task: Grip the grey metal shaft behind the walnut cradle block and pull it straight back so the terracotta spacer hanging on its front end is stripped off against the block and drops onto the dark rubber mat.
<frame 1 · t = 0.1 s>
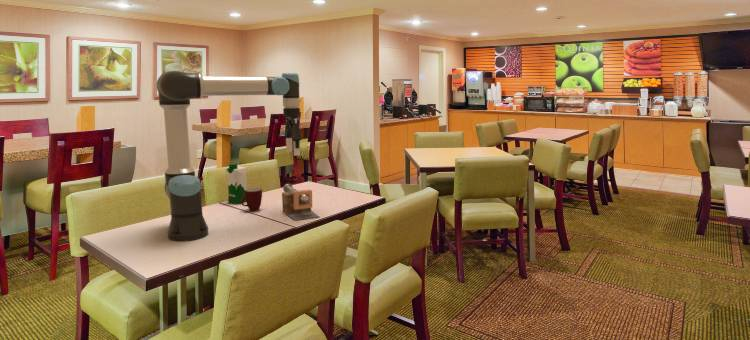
hand: (293, 153, 219), 28 cm above the table, tool pointing down, fingers open, 13 cm apart
shaft: (296, 193, 222), point 9 cm above the table, slide at 0.0 cm, touching spacer
mug: (252, 210, 227), on the table
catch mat: (303, 216, 217), on the table
milk carton: (238, 202, 243), on the table
cradle block: (296, 211, 224), on the table
spacer: (303, 207, 216), point 4 cm above the table, touching shaft
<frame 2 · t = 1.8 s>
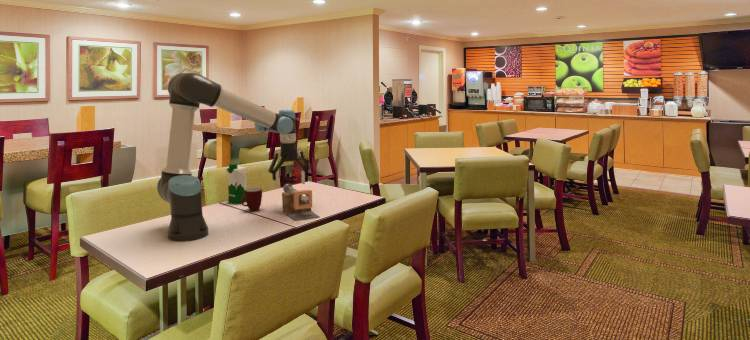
hand: (290, 185, 230), 11 cm above the table, tool pointing down, fingers open, 13 cm apart
nothing on the table moved.
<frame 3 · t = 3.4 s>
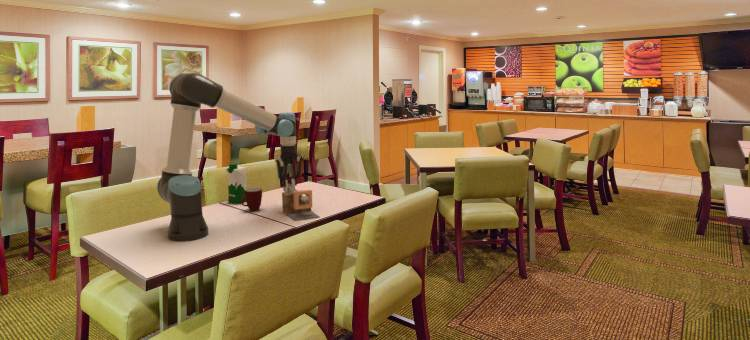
hand: (289, 192, 231), 8 cm above the table, tool pointing down, fingers closed on shaft, 3 cm apart
shaft: (296, 193, 222), point 9 cm above the table, slide at 0.0 cm, touching gripper, spacer
everything else where it was.
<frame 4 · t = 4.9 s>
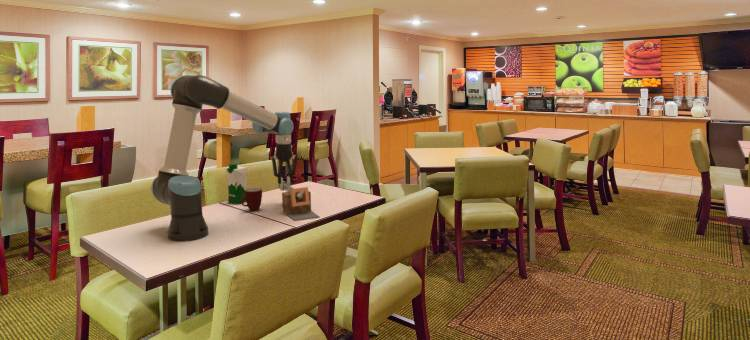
hand: (285, 189, 237), 8 cm above the table, tool pointing down, fingers closed on shaft, 3 cm apart
shaft: (291, 190, 229), point 9 cm above the table, slide at 7.5 cm, touching gripper
spacer: (300, 205, 219), point 4 cm above the table, tilted 10°
everything else where it was.
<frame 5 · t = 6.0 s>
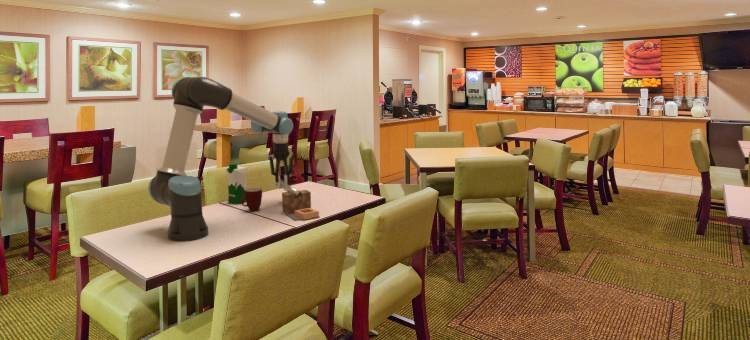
hand: (282, 187, 241), 8 cm above the table, tool pointing down, fingers closed on shaft, 3 cm apart
shaft: (288, 188, 233), point 9 cm above the table, slide at 11.9 cm, touching gripper
spacer: (302, 211, 218), point 2 cm above the table, tilted 90°, touching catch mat
everything else where it was.
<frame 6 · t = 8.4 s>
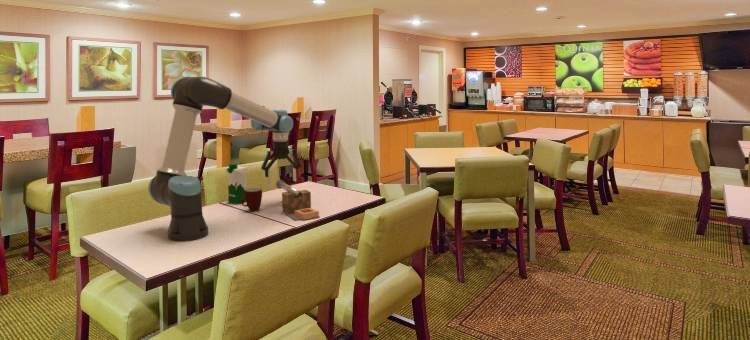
hand: (281, 182, 241), 11 cm above the table, tool pointing down, fingers open, 13 cm apart
shaft: (288, 188, 233), point 9 cm above the table, slide at 11.9 cm
everything else where it was.
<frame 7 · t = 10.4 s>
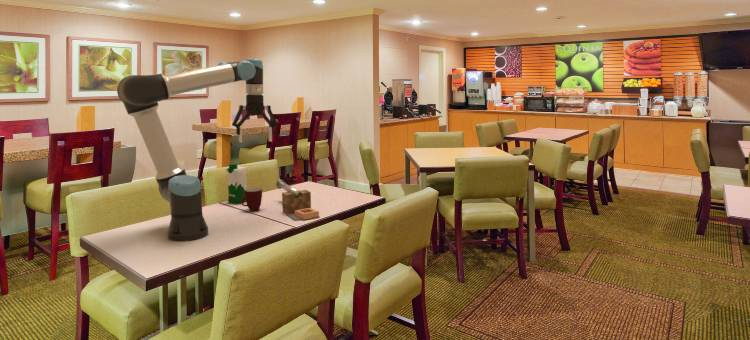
hand: (255, 141, 214), 34 cm above the table, tool pointing down, fingers open, 13 cm apart
nothing on the table moved.
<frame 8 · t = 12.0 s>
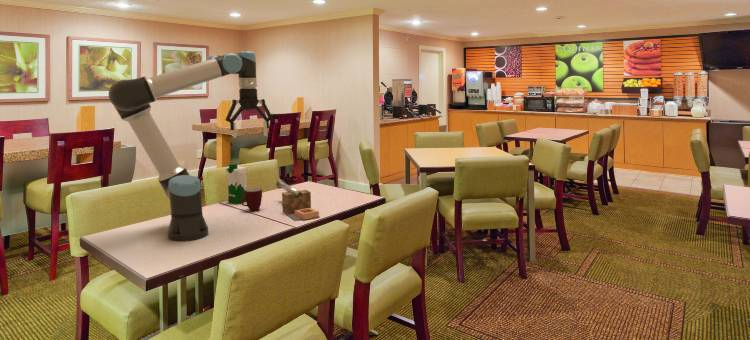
hand: (250, 136, 209), 37 cm above the table, tool pointing down, fingers open, 13 cm apart
nothing on the table moved.
at the end: spacer point 1.6 cm above the table; spacer touching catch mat; shaft slide at 11.9 cm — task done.
